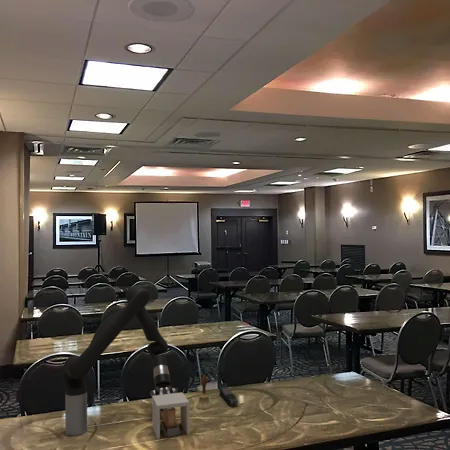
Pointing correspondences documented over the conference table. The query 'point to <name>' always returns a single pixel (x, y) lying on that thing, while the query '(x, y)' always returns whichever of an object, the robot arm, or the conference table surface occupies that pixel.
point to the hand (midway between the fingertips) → (166, 410)
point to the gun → (227, 394)
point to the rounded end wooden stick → (169, 417)
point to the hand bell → (204, 396)
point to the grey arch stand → (170, 402)
